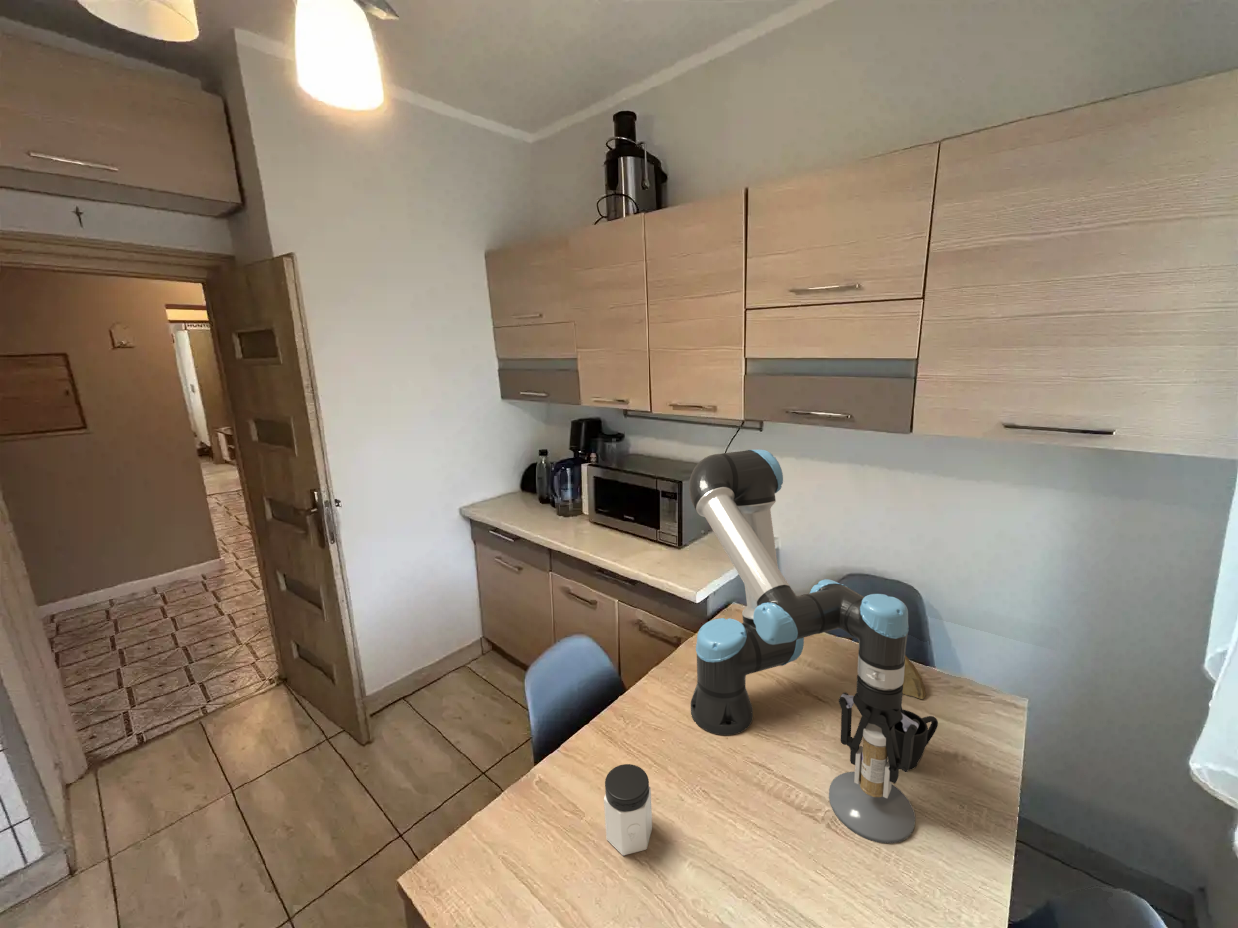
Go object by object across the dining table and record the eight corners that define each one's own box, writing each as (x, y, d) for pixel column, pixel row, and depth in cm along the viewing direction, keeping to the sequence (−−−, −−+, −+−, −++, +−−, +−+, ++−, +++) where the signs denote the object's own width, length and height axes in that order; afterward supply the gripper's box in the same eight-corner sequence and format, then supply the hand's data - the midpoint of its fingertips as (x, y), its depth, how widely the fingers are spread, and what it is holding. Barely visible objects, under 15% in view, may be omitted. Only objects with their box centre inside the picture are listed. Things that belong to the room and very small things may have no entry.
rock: (939, 688, 127) (908, 661, 136) (928, 671, 124) (897, 645, 133) (906, 716, 127) (877, 687, 136) (895, 700, 124) (865, 671, 133)
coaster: (817, 811, 98) (817, 807, 98) (843, 763, 109) (843, 759, 109) (903, 859, 88) (903, 855, 88) (922, 801, 99) (923, 797, 99)
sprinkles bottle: (857, 777, 100) (860, 718, 97) (882, 780, 99) (886, 721, 96) (862, 797, 96) (866, 736, 93) (888, 800, 95) (893, 738, 92)
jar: (611, 860, 91) (607, 805, 88) (602, 820, 99) (598, 769, 96) (658, 847, 93) (656, 793, 90) (646, 809, 100) (644, 758, 98)
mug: (949, 766, 107) (953, 728, 105) (899, 778, 105) (902, 739, 103) (919, 738, 115) (923, 702, 113) (872, 748, 113) (875, 711, 111)
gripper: (823, 670, 96) (819, 774, 101) (930, 710, 84) (919, 825, 89) (837, 652, 101) (832, 752, 106) (939, 687, 90) (928, 796, 95)
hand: (872, 785), depth 98 cm, fingers closed on sprinkles bottle, 4 cm apart
